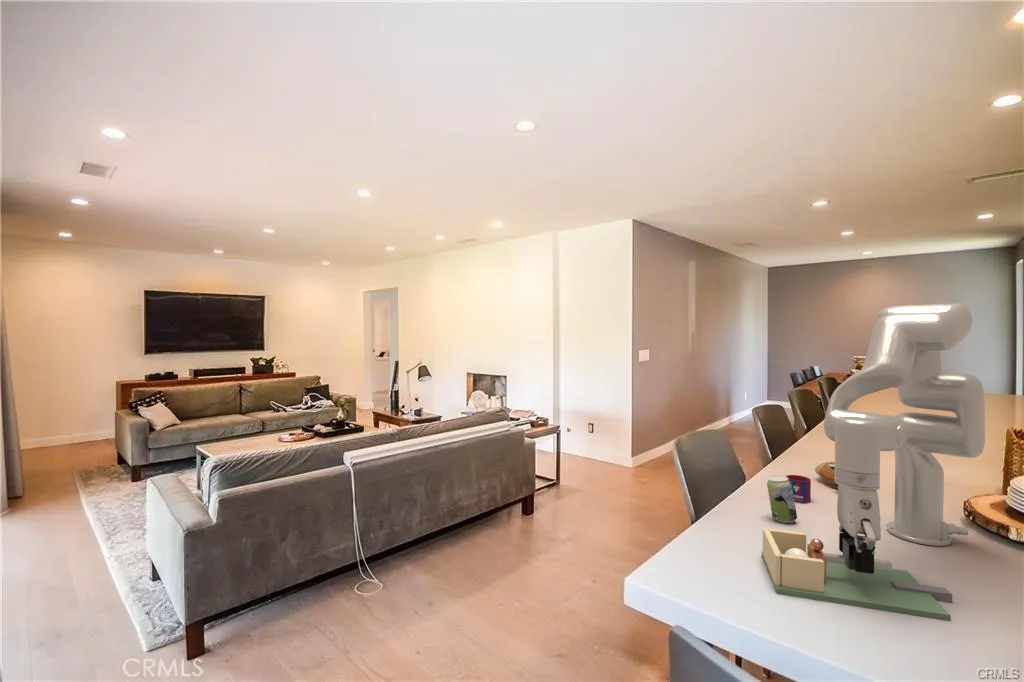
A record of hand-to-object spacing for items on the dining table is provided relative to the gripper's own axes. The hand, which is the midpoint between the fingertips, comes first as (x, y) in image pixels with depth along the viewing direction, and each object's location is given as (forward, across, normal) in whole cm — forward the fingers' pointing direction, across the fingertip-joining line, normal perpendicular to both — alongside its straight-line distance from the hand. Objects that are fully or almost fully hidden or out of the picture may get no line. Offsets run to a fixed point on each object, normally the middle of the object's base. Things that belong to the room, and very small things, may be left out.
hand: (855, 561), depth 98 cm
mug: (+5, +56, -2) cm, 56 cm away
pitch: (+5, 0, 0) cm, 5 cm away
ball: (+2, 0, +11) cm, 11 cm away
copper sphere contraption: (+4, 0, +1) cm, 4 cm away
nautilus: (+5, +72, -17) cm, 74 cm away
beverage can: (+5, +34, +7) cm, 35 cm away
